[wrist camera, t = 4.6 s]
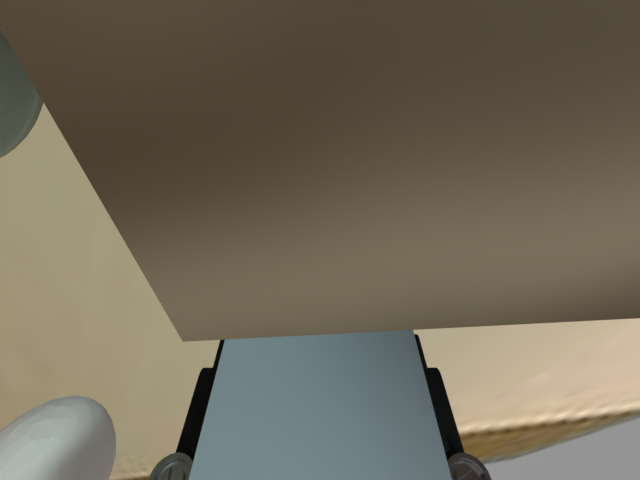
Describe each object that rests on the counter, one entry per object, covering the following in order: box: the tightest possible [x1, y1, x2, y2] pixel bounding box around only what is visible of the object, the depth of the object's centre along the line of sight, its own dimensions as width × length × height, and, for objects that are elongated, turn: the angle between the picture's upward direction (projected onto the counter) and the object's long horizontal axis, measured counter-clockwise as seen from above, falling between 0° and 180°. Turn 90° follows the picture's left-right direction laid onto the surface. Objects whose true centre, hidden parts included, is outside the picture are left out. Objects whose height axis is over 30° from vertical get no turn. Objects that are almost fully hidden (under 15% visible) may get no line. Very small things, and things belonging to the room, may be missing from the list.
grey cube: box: [189, 330, 452, 480], centre depth 12 cm, size 6×6×6 cm
